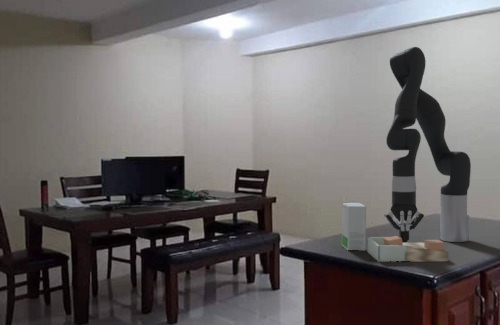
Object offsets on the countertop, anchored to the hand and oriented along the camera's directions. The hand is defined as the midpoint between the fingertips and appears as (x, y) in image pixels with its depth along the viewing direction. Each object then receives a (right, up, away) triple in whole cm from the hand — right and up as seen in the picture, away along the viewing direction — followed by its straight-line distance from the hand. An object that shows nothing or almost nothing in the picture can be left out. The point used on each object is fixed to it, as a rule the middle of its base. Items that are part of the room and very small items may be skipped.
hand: (404, 241), depth 162 cm
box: (-7, -4, -3) cm, 9 cm away
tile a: (-3, -1, 0) cm, 4 cm away
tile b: (+8, -1, -6) cm, 10 cm away
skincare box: (-14, -4, +10) cm, 18 cm away
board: (+4, -4, -3) cm, 7 cm away
